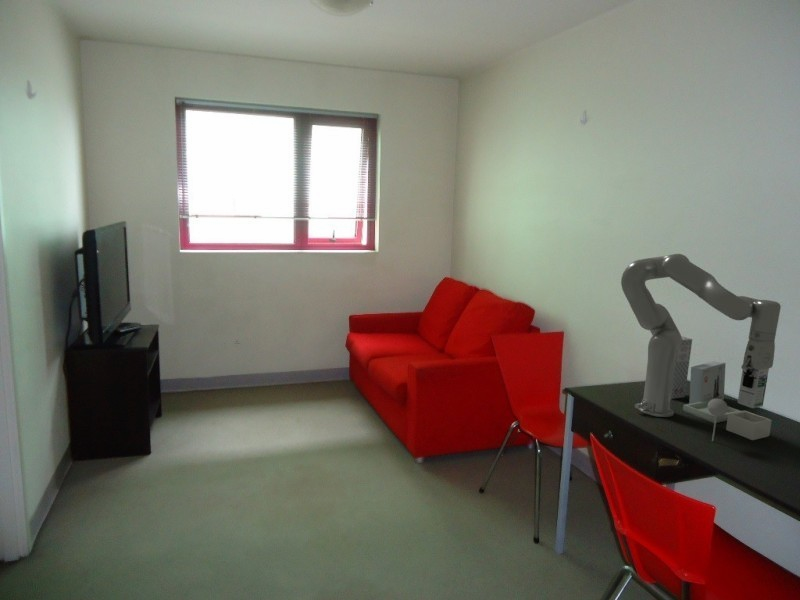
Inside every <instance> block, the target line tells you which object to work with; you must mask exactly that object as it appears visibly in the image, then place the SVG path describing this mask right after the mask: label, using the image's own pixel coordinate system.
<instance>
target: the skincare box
mask: <svg viewBox="0 0 800 600" xmlns="http://www.w3.org/2000/svg"><path fill="white" fill-rule="evenodd" d="M725 379H726V362H720V361H715V360H713V361H710V362H705V363H702V364H697V365H694V366H691V367H690V383H689V399H688V401H689V402H688V404H691V403H696V402H704V401H707V400H712V399H716V398H717V399H722V400H723V401H724V399H725V386H726V384H725Z"/></svg>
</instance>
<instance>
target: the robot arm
mask: <svg viewBox="0 0 800 600" xmlns="http://www.w3.org/2000/svg"><path fill="white" fill-rule="evenodd" d="M664 278H669V279H672V280H673V281H674V282H676V283H678V284H679V285H681V286H683V287H684V288H685V289H686V290H688V291H690V292H692V293H693V294H695V295H696V296H697V297H698V298H700V299H701V300H703V301H704V302H706V303H707V304H708V305H710V306H711V307H712V308H713V309H715V310H717V311H718V312H720V313H721V314H723V315H725V316H726V317H728V318H730V319H731V320H733V321H734V320H735V321H743V320H746V319H748V318H751V322H750V326H749V327H750V329H749V333H748V342H747V343H746V344H747V345H746V347H745V351H744V356H743V362H742V365H741V370H743V372H744V373H743V375H744V378H743V383H742V385H743V386H745V387H748V388H752V387H753V381H754V377H753V375H754V373H755V370H761V369H768V368H769V369H772V368H773V364H774V359H775V358H774V357H775V349H776V345H775V344H776V343H775V340H776V335H777V331H778V330H777V329H778V325H779V318H780V313H781V307H782V306H781V304H780V302H778V301H774V300H770V299H769V300H768V299H757V298H752V297H749V296H746V295H745V296H744V295H736V294H734V293H733V292H731V291H730V290H728V289H727V288H725V287H724V286H723V285H721V284H720V283H719V282H718V280H717V279H716V278H715V277H714V276H713V274H711V273H710V272H708V271H706V270H704V269H703V268H700V267H699V266H697V265H696V264H694V263H693V262H692V261H690V260H689V258H688V257H687V255H684V254H681V253H672V254H669V255H662V256H655V257H647V258H641V259H636V260H634V261H633V262H631V263H630V264H628V265H627V267H626V268H625V269H624V271H623V273H622V275H621V279H620V283H621V289H622V292H623V294H624V296H625V298H626V299H627V302H628V304H629V306H630V308H631V310H632V312H633V314H634V315H635V318H636V321H637V322H638V324H639V326H640V327H641V328H643V329H644V330H646V331H649V332H650V333H651V338H650V339H649V342H648V346H647V348H648V349H647V365H646V374H645V383H644V388H643V389H644V390H643V398H642V399H641V402H637V403H635V404H634V408H635V409H638V411H640V412H642V413H643V414H646V415H648V416H653V417H659V418H669V417H673V416H674V415H675V413H674V412H675V411H674V410H673V409H672V408H670V407H671V401H672V399H671V394H672V387H673V379H674V370H675V358H676V351H677V350H678V349H679V347H680V346H681V344H682V337H683V336H682V335H681V333H680V330H679V329H678V327H677V324H676V323H675V321H674V320H673V317H672V315H671V314H670V312H669V310H668V309H667V308H666V307H665V306H664V305H663V304H661V303H656V301H655V299H654V297H653V296H652V293H651V291H650V290H649V289H648V287H647V285H646V282H647V281H650V280H657V279H664ZM681 336H682V337H681ZM749 365H750V366H752V368H751V367H749ZM748 369H751V370H752V371H751V372H750V370H748Z"/></svg>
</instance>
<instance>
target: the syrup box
mask: <svg viewBox="0 0 800 600" xmlns="http://www.w3.org/2000/svg"><path fill="white" fill-rule="evenodd" d="M749 367H751V368H752V366H750V365H749ZM741 370H742V369H741ZM748 370H750V372H751V371H752V370H751V369H748ZM769 371H770V368H768V369H761V370H755V373H754V375H753V377H754V381H753V387H752V388H748V387H745V386H743V385H742V383H743V378H744V375H743V373H744V372H743V370H742V371H741V376H740V377H741V378H740V384H739V390H738V391H739V392H738V397H737V403H738V404H740V405H742V406H745V407H746V408H747V407H748V408H750V409H755V408H756V409H757V408H760V407H763V406H764V401H765V394H766V389H767V382H768V377H769V376H768V375H769Z"/></svg>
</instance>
